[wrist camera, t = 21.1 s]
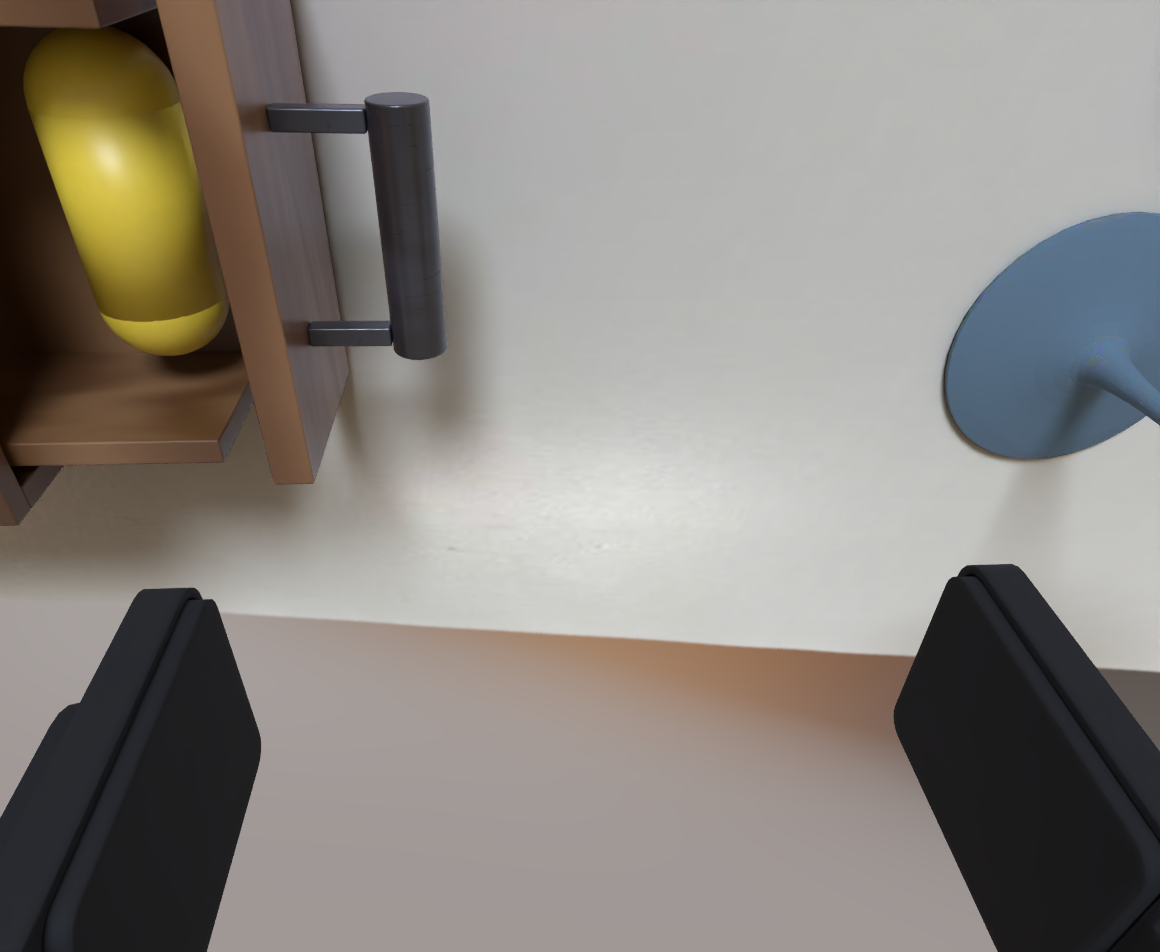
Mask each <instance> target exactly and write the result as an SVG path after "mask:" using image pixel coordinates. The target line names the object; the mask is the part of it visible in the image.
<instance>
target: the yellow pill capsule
mask: <svg viewBox="0 0 1160 952" xmlns="http://www.w3.org/2000/svg"><path fill="white" fill-rule="evenodd" d="M23 89H24V95H25V99H26V104H27V108H28V111H29V114H30V117H31V120H32V123H33V125H34V128H35V131H36V134H37V137H38V140H39V142H40V145H41V148H42V151H43V154H44V157H45V159H46V162H47V165H48V168H49V171H50V174H51V176H52V179H53V182H54V185H55V188H56V191H57V193H58V196H59V199H60V202H61V205H62V208H63V210H64V213H65V216H66V219H67V222H68V225H69V227H70V230H71V233H72V236H73V239H74V242H75V244H76V247H77V250H78V253H79V256H80V259H81V261H82V264H83V267H84V270H85V273H86V276H87V278H88V281H89V284H90V287H91V290H92V293H93V295H94V298H95V301H96V304H97V307H98V309H99V311H100V313H101V315H102V317H103V320H104V321H105V323H106V324H107V325H108V326H109V328H110V329H111V330H112V331H113V332H114V333H115V334H116V335H117V336H118V337H119V338H120V339H122V340H123V341H124V342H125V343H127V344H129V345H131V346H133V347H134V348H136V349H138V350H141V351H144V352H147V353H150V354H154V355H161V356H177V355H183V354H187V353H190V352H193V351H195V350H198V349H200V348H202V347H204V346H205V345H206V344H208V343H209V342H210V341H211V340H212V339H214V338H215V337H216V335H217V334H218V333H219V331H220V330H221V328H222V327H223V325H224V323H225V320H226V317H227V314H228V310H229V298H228V294H227V290H226V286H225V282H224V278H223V273H222V269H221V265H220V261H219V257H218V253H217V249H216V245H215V241H214V237H213V233H212V229H211V224H210V220H209V216H208V212H207V208H206V204H205V200H204V196H203V192H202V188H201V184H200V180H199V175H198V171H197V167H196V163H195V159H194V155H193V151H192V147H191V143H190V139H189V135H188V131H187V126H186V122H185V118H184V114H183V110H182V106H181V102H180V98H179V94H178V90H177V86H176V82H175V80H174V78H173V76H172V75H171V73H170V71H169V69H168V68H167V67H166V65H165V64H164V63H163V62H162V60H161V59H160V58H159V57H158V56H157V55H156V54H155V53H154V52H153V51H152V50H151V49H150V48H148V47H147V46H146V45H145V44H144V43H142V42H141V41H139V40H138V39H136V38H135V37H133V36H132V35H130V34H128V33H125V32H123V31H121V30H119V29H116V28H114V27H110V26H106V27H103V28H101V29H72V28H58V29H55V30H54V31H52V32H51V33H49V34H48V35H46V36H44V37H43V38H42V39H41V40H40V41H39V43H38V44H37V45H36V46H35V47H34V48H33V49H32V51H31V53H30V55H29V57H28V59H27V61H26V65H25V70H24V75H23Z"/></svg>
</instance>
